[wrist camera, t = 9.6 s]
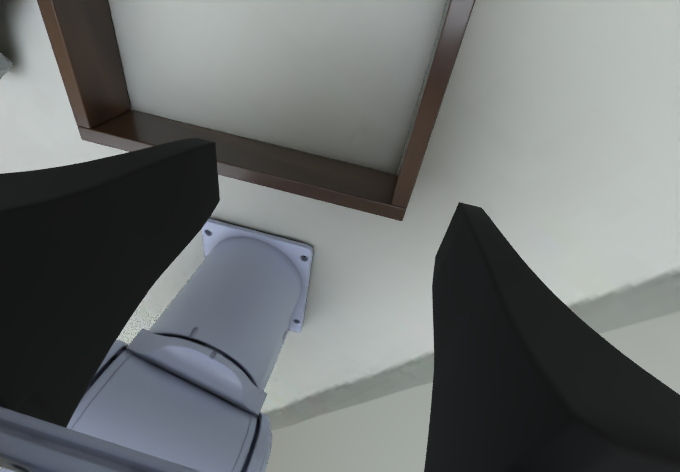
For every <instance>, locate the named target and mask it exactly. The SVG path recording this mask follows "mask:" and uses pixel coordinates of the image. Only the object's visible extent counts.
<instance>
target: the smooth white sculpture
mask: <svg viewBox="0 0 680 472" xmlns="http://www.w3.org/2000/svg"><path fill="white" fill-rule="evenodd" d="M11 67H12V62H11V61H10V60H9V59H7V58H6V57H5V56H4V55H3V54H1V53H0V78H1V77H2V76H3V75H4V74H5V73H6V72H7V71H8V70H9V69H10V68H11Z"/></svg>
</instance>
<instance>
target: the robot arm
mask: <svg viewBox="0 0 680 472" xmlns="http://www.w3.org/2000/svg"><path fill="white" fill-rule="evenodd" d="M219 201H220V197H219V184H218V170H217V157H216V143H215V142H213V141H208V140H204V139H200V138H187V139H182V140H177V141H172V142H168V143H164V144H160V145H156V146H152V147H148V148H144V149H140V150H136V151H132V152H128V153H124V154H120V155H115V156H111V157H106V158H102V159H97V160H93V161H88V162H84V163H79V164H73V165H67V166H62V167H55V168H48V169H41V170H34V171H26V172H15V173H5V174H0V467H2V468H1V470H0V472H265V470H266V467H267V464H268V460H269V456H270V452H271V446H272V432H271V428H270V419H269V417H268V416H267V415H265V414H263V413H262V412H260V411H261V408H262V406H263V403H264V401H265V398H266V396H267V394H266V393H265V392H264V389H265V387H266V384H267V382H268V379H269V377H270V374H271V372H272V370H273V367H274V365H275V362H276V360H277V357H278V355H279V352H280V350H281V348H282V345H283V343H284V340H285V338H286V335H287V333H288V331H289V330H290V331H293V332H300V331H301V330H302V327H303V320H304V313H305V306H306V299H307V292H308V285H309V278H310V271H311V264H312V257H313V249H312V247H311V246H310V245H307V244H304V243H300V242H296V241H292V240H288V239H285V238H281V237H277V236H273V235H270V234H266V233H262V232H258V231H255V230H251V229H247V228H243V227H239V226H236V225H232V224H228V223H224V222H221V221H217V220H213V219H209V217H210V216H211V214H212V213H213V211H214V209H215V208H216V206H217V204H218V202H219ZM201 229H202V236H203V244H204V253H205V260H204V261H203V262H202V264H201V265H200V266H199V267H198V269H197V270H196V271H195V273H194V274H193V275H192V276H191V278H190V279H189V280H188V281H187V283H186V284H185V285H184V286H183V288H182V289H181V290H180V292H179V293H178V294H177V295H176V297H175V298H174V299H173V300H172V302H171V303H170V304H169V305H168V307H167V308H166V309H165V311H164V312H163V313H162V314H161V316H160V317H159V318H158V319H157V321H156V322H155V323H154V324H153V326H152V327H151V328H150V330H149V331H147V330H145V329H142V330H141V331H140V332H139V333H138V334H137V336H136V337H135V338H134V339H133V341H132V342H131V343H130V344H127V343H125V342H123V341H121V340H116V339H117V337H118V336H119V334H120V333H121V331H122V329H123V328H124V326H125V325H126V323H127V322H128V320H129V319H130V317H131V316H132V314H133V313H134V311H135V310H136V308H137V307H138V305H139V304H140V302H141V301H142V300H143V298H144V297H145V295H146V294H147V292H148V291H149V289H150V288H151V287H152V286H153V284H154V283H155V282H156V281H157V279H158V278H159V277H160V276H161V274H162V273H163V272H164V271H165V270H166V269H167V268H168V267H169V265H170V264H171V263H172V262H173V261H174V260H175V259H176V257H177V256H178V255H179V254H180V253H181V252H182V251H183V249H184V248H185V247H186V246H187V245H188V244H189V243H190V241H191V240H192V239H193V238H194V237H195V236H196V234H197V233H198V232H199V231H200V230H201ZM209 230H210V231H211V232H210V231H209ZM303 256H306V257H307V258H305V257H303ZM432 293H433V326H434V377H433V390H432V403H431V414H430V424H429V434H428V445H427V452H426V461H425V470H424V472H680V395H679V394H678V393H676V392H675V391H673V390H672V389H670V388H669V387H668V386H666V385H665V384H663V383H662V382H661V381H659V380H658V379H656V378H655V377H654V376H652V375H651V374H649V373H648V372H646V371H645V370H644V369H642V368H641V367H640V366H638V365H637V364H636V363H634V362H633V361H632V360H630V359H629V358H628V357H626V356H625V355H623V354H622V353H621V352H620V351H619V350H617V349H616V348H615V347H614V346H612V345H611V344H610V343H609V342H608V341H606V340H605V339H604V338H603V337H601V336H600V335H599V334H598V333H596V332H595V331H594V330H593V329H592V328H590V327H589V326H588V325H587V324H586V323H585V322H584V321H582V320H581V319H580V318H579V317H578V316H577V315H576V314H575V313H574V312H572V311H571V310H570V309H569V308H568V307H567V306H566V305H565V304H564V303H563V302H562V301H561V300H560V299H559V298H558V297H557V296H556V295H555V294H554V293H553V292H552V291H551V290H550V289H549V288H548V287H547V286H546V285H545V284H544V283H543V282H542V281H541V280H540V279H539V278H538V277H537V275H536V274H535V273H534V272H533V271H532V270H531V269H530V268H529V267H528V265H527V264H526V263H525V262H524V261H523V260H522V258H521V257H520V256H519V255H518V253H517V252H516V251H515V250H514V249H513V247H512V246H511V245H510V244H509V242H508V241H507V240H506V238H505V237H504V236H503V234H502V233H501V232H500V231H499V229H498V228H497V227H496V225H495V224H494V223H493V221H492V220H491V219H490V217H489V216H488V215H487V214H486V213H485V211H484V210H483V209H482V208H481V207H476V206H472V205H468V204H464V203H460V202H459V204H458V206H457V208H456V211H455V213H454V215H453V218H452V220H451V222H450V225H449V227H448V229H447V231H446V234H445V236H444V238H443V241H442V243H441V245H440V247H439V250H438V252H437V254H436V257H435V266H434V274H433V284H432ZM128 345H129V346H128Z"/></svg>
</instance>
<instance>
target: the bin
mask: <svg viewBox="0 0 680 472" xmlns="http://www.w3.org/2000/svg"><path fill="white" fill-rule="evenodd" d="M37 2H38V5H39V8H40V11H41V14H42V18H43V21H44V24H45V27H46V30H47V33H48V36H49V39H50V42H51V45H52V49H53V52H54V55H55V58H56V61H57V64H58V67H59V70H60V73H61V76H62V80H63V83H64V86H65V89H66V92H67V95H68V98H69V101H70V104H71V107H72V111H73V114H74V117H75V120H76V123H77V125H78V129H79V132H80V135H81V138H82V140H86V141H89V142H93V143H97V144H101V145H105V146H109V147H113V148H117V149H121V150H125V151H129V152H132V151H136V150H140V149H144V148H148V147H152V146H156V145H160V144H164V143H168V142H172V141H177V140H182V139H187V138H200V139H204V140H208V141H213V142H215V143H216V157H217V170H218V174H219V175H223V176H227V177H231V178H235V179H238V180H242V181H246V182H250V183H254V184H258V185H262V186H266V187H270V188H274V189H278V190H282V191H285V192H289V193H293V194H297V195H301V196H305V197H309V198H313V199H317V200H321V201H325V202H329V203H333V204H336V205H340V206H344V207H348V208H352V209H356V210H360V211H364V212H368V213H372V214H376V215H380V216H384V217H387V218H391V219H395V220H399V221H402V220H403V218H404V215H405V212H406V208H407V206H408V203H409V200H410V197H411V194H412V191H413V188H414V185H415V182H416V179H417V176H418V173H419V170H420V167H421V163H422V160H423V157H424V154H425V151H426V148H427V145H428V142H429V139H430V136H431V133H432V130H433V127H434V124H435V121H436V118H437V115H438V112H439V109H440V106H441V103H442V100H443V97H444V94H445V91H446V88H447V85H448V82H449V79H450V76H451V73H452V70H453V67H454V64H455V61H456V58H457V54H458V51H459V48H460V45H461V42H462V39H463V36H464V33H465V30H466V27H467V24H468V21H469V18H470V15H471V12H472V9H473V6H474V3H475V0H447V1H446V5H445V8H444V12H443V15H442V19H441V22H440V26H439V29H438V33H437V36H436V40H435V43H434V47H433V50H432V54H431V57H430V60H429V64H428V67H427V71H426V74H425V78H424V81H423V85H422V88H421V92H420V95H419V99H418V102H417V106H416V109H415V113H414V116H413V120H412V123H411V127H410V130H409V133H408V137H407V140H406V144H405V147H404V151H403V154H402V158H401V161H400V165H399V168H398V172H397V175H394V174H390V173H386V172H382V171H378V170H373V169H369V168H365V167H361V166H357V165H353V164H349V163H345V162H341V161H337V160H333V159H329V158H325V157H321V156H316V155H312V154H308V153H304V152H300V151H296V150H292V149H288V148H284V147H280V146H276V145H272V144H268V143H263V142H259V141H255V140H251V139H247V138H243V137H239V136H235V135H231V134H227V133H223V132H219V131H215V130H211V129H206V128H202V127H198V126H194V125H190V124H186V123H182V122H178V121H174V120H170V119H166V118H162V117H158V116H154V115H149V114H145V113H141V112H137V111H133V110H130V109H131V107H130V102H129V98H128V93H127V88H126V84H125V79H124V75H123V70H122V66H121V61H120V56H119V52H118V47H117V43H116V38H115V33H114V29H113V24H112V20H111V15H110V10H109V6H108V1H107V0H37Z"/></svg>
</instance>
